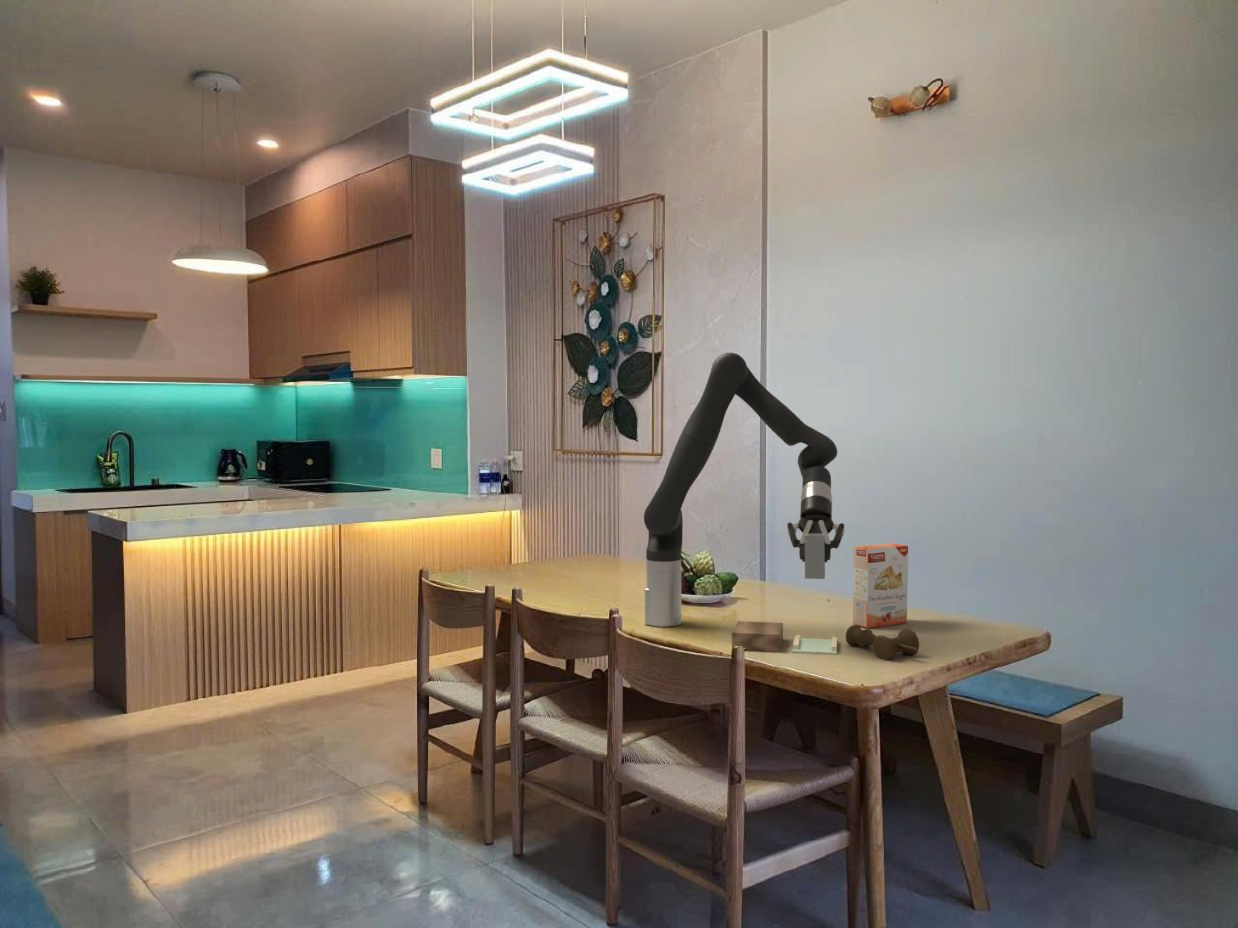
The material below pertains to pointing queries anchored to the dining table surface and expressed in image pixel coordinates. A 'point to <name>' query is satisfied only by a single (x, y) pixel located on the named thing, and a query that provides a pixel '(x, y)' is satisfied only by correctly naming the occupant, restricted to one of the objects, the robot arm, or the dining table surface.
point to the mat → (815, 645)
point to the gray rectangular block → (815, 556)
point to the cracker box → (880, 585)
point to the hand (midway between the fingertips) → (814, 559)
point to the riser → (758, 635)
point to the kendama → (883, 642)
